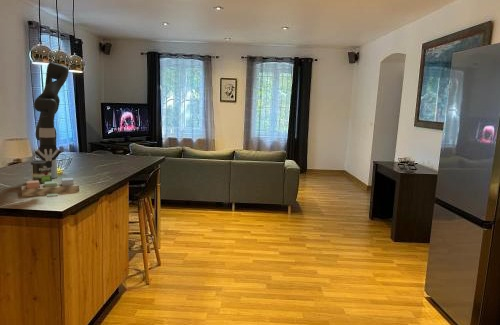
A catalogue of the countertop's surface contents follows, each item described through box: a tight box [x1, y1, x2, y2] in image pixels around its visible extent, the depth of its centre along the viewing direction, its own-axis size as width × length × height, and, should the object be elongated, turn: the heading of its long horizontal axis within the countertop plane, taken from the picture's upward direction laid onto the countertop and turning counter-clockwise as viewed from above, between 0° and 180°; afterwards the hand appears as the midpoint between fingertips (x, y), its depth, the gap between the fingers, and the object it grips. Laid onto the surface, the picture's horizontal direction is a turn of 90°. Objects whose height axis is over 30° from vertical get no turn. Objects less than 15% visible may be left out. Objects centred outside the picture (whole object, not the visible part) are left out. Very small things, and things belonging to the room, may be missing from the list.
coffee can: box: [30, 160, 53, 185], centre depth 215 cm, size 10×10×14 cm
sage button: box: [45, 180, 58, 187], centre depth 202 cm, size 6×6×4 cm
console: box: [21, 181, 80, 198], centre depth 202 cm, size 27×10×4 cm, turn 121°
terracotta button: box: [26, 180, 39, 189], centre depth 197 cm, size 6×6×4 cm
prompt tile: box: [46, 193, 59, 198], centre depth 195 cm, size 5×5×1 cm
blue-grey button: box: [61, 177, 75, 186], centre depth 206 cm, size 6×6×4 cm
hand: (48, 167), depth 200 cm, fingers closed
